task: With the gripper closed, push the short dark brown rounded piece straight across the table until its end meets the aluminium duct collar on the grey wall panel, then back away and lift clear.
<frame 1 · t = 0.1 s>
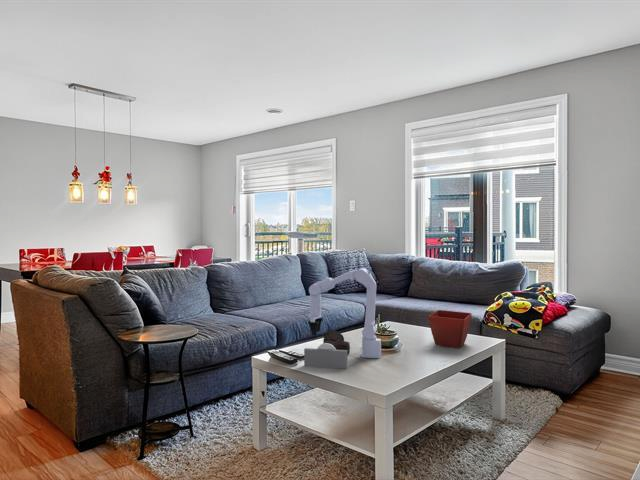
hand: (315, 333, 239), 10 cm above the table, tool pointing down, fingers open, 7 cm apart
dark brown rounded piece: (335, 352, 241), on the table
plant pot: (450, 345, 254), on the table
duct panel: (325, 366, 216), on the table
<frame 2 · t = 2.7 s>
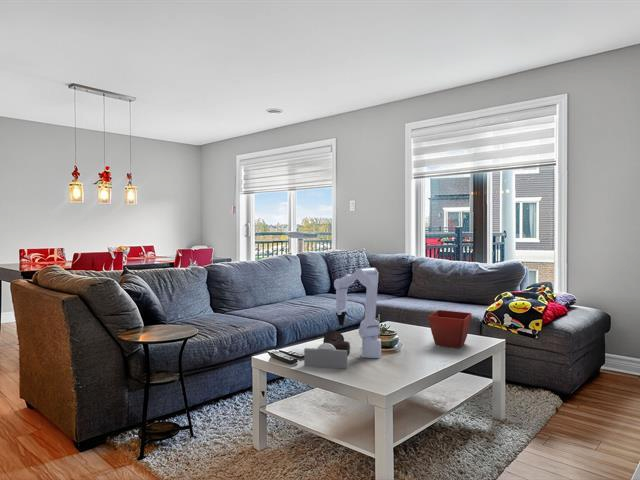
hand: (341, 325, 256), 11 cm above the table, tool pointing down, fingers closed
nothing on the table moved.
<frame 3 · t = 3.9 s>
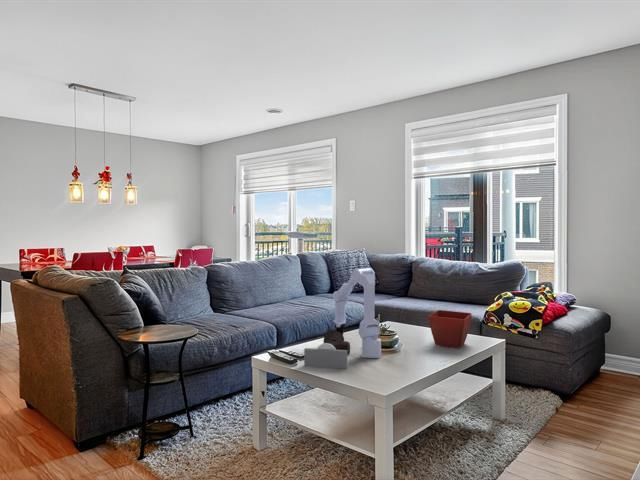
hand: (340, 337, 255), 4 cm above the table, tool pointing down, fingers closed
nothing on the table moved.
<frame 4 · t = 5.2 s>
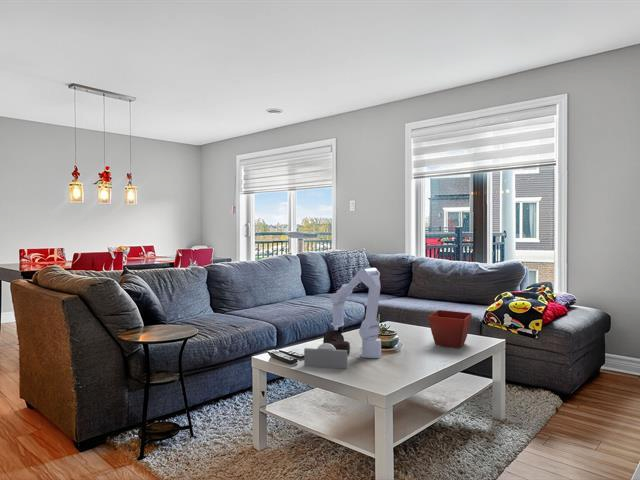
hand: (338, 340, 248), 4 cm above the table, tool pointing down, fingers closed
dark brown rounded piece: (335, 352, 240), on the table, touching gripper
everything else where it was.
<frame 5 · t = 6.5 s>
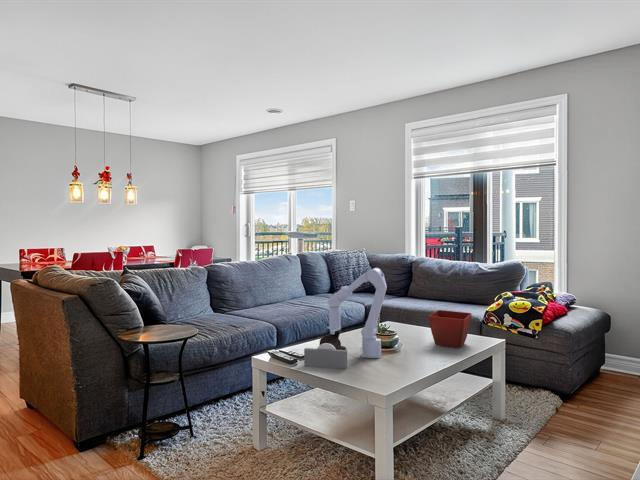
hand: (335, 345, 239), 4 cm above the table, tool pointing down, fingers closed
dark brown rounded piece: (332, 357, 231), on the table, touching gripper
everything else where it was.
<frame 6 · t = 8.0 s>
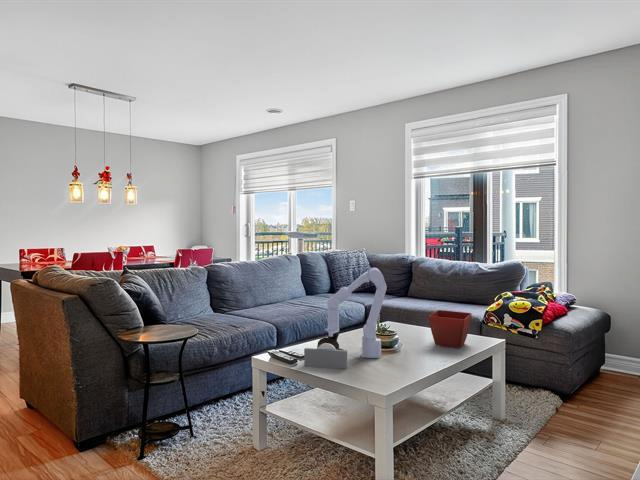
hand: (333, 347, 235), 4 cm above the table, tool pointing down, fingers closed
dark brown rounded piece: (330, 360, 227), on the table, touching gripper
everything else where it was.
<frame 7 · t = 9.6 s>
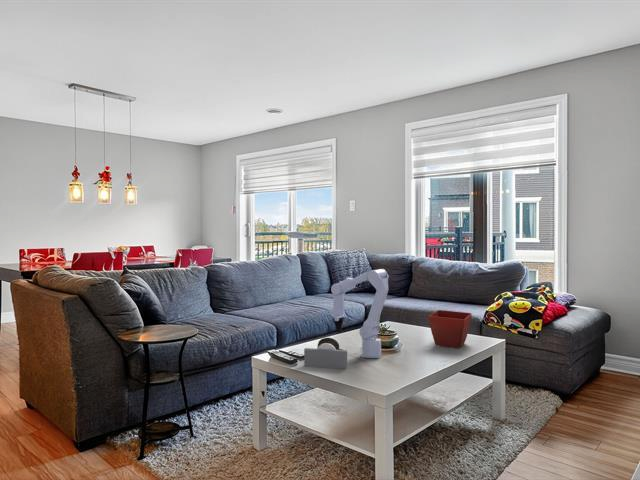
hand: (338, 331, 245), 9 cm above the table, tool pointing down, fingers closed
dark brown rounded piece: (330, 360, 227), on the table
everything else where it was.
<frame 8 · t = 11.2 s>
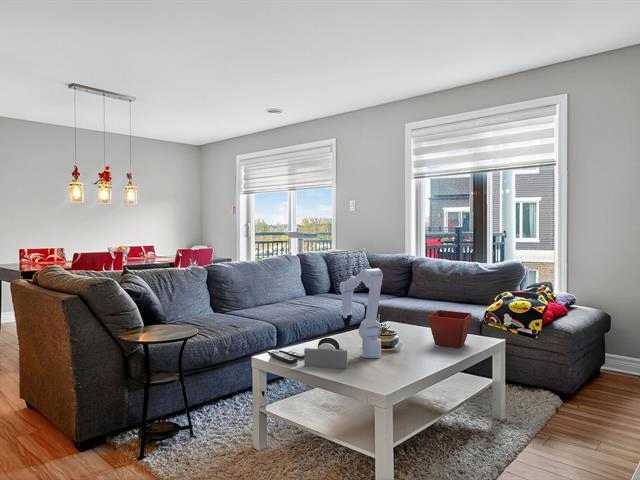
hand: (347, 328, 253), 9 cm above the table, tool pointing down, fingers closed
nothing on the table moved.
at the end: dark brown rounded piece inside the target area (0.9 cm from its centre), on the table; dark brown rounded piece moved 14.9 cm from its start; the gripper is holding nothing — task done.
